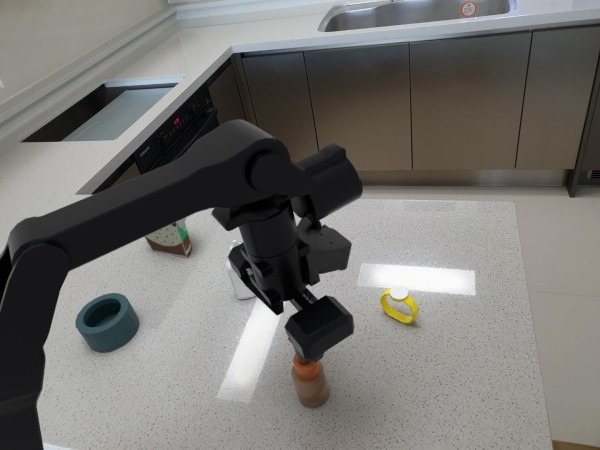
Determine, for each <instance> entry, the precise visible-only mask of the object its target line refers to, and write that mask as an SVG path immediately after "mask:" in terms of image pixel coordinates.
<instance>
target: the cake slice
mask: <svg viewBox="0 0 600 450" xmlns="http://www.w3.org/2000/svg"><path fill="white" fill-rule="evenodd" d="M186 221H187V217H186V218H184V219H182V220H179V221H177V222H175V223H173V224H171V225H169V226H166V227H164V228H162V229H160V230H158V231H156V232H154V233H151V234H149V235H147V236H145V237H144V239H145V241H146V243H147V245H148V246H149V248H150V250H151V251H152V252H156V253H160V254H166V255H170V256H175V257H181V258H186V259H188V258H189V257H190V255H191V253H192V250H193V247H192V246H193V245H192V242H191V239H190V235H189V231H188V227H187V224H186Z"/></svg>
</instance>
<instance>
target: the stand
mask: <svg viewBox="0 0 600 450" xmlns="http://www.w3.org/2000/svg"><path fill="white" fill-rule="evenodd" d="M318 363H319V367H320V371H319V374H318V375H317V376H316V377H315V378H314V379H312V380H302V379H300V378H299V377H298V376H297V374H296V370H295V367H294V365H292V368H291V378H292V382H293V385H294V388H295V392H296V394H297V398H298V400H299V403H300V404H301V405H302V406H304V407H305V408H308V409H317V408H320V407H322V406H323V405H324V404H325V403H326V402H327V401H328V399H329V396H330V390H329V385H328V381H327V377H326V373H325V368H324V365H323V363H322V361H321V360H319V361H318Z"/></svg>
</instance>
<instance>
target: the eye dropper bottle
mask: <svg viewBox="0 0 600 450" xmlns="http://www.w3.org/2000/svg"><path fill="white" fill-rule="evenodd" d="M241 243H242V242H238V240H237V239H233V240H232V244H231V246H230V247H229V252H230V251H231V249H232V248H233V247H235V246H237V245H239V244H241ZM225 269H226V271H227V274H228V277H229V280H230V283H231V285H232V288H233V291H234V293H235V297H236V298H237V299H238V300H247V299H252V298H254V297H257V296H256V295H255V294H254V293H253V292H252V291H251V290H249V289H248V288H247V287H246V286H245V284H244V283H243V282H242V281H241V279H240V278H239V277H238V275H237V274H236V272H235V271H234V270H233V269H232V267H231V265H230V262H229V259H227V261H226V263H225Z"/></svg>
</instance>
